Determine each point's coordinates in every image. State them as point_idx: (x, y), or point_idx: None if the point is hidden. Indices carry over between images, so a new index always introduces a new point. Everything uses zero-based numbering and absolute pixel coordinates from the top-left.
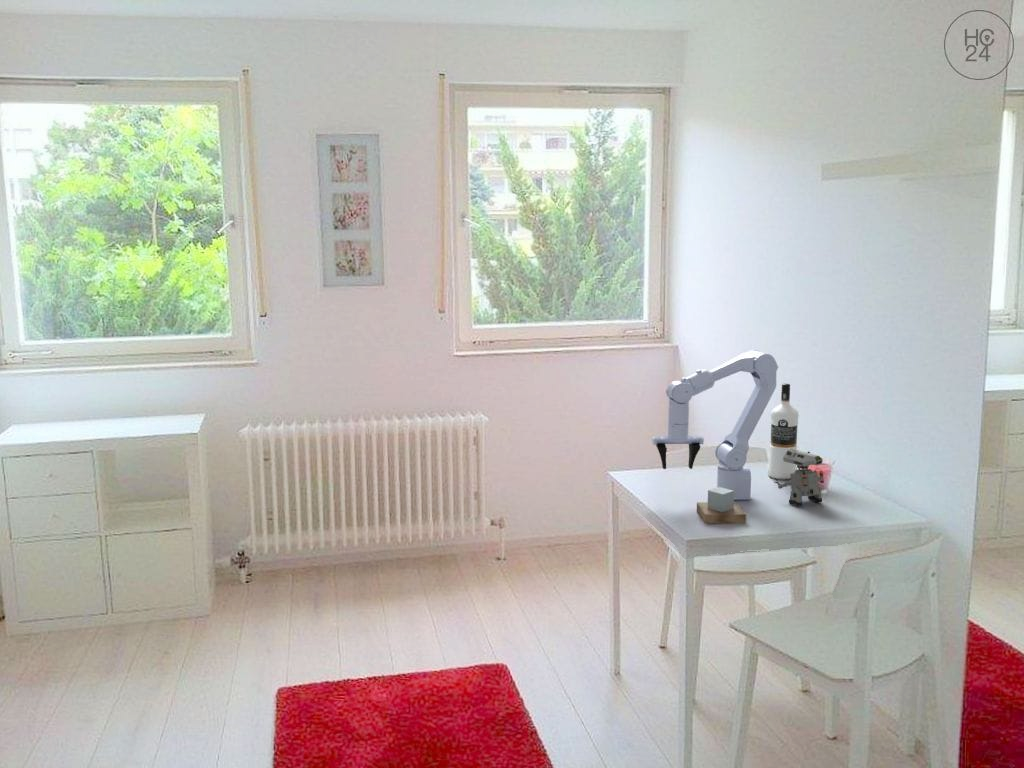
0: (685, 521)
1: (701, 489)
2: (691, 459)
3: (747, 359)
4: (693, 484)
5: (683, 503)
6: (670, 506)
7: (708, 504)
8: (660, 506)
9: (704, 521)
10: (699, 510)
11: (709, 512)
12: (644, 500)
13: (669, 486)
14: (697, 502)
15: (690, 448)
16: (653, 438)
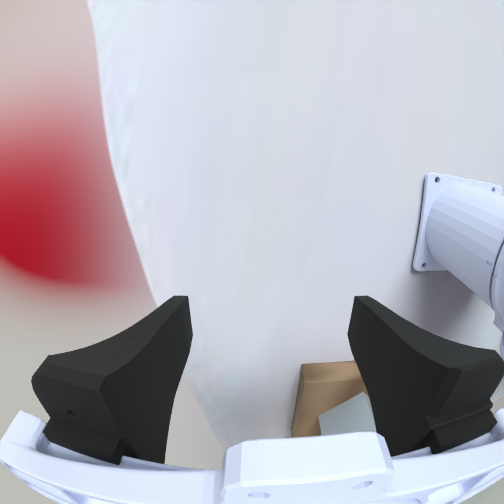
0: (248, 419)
1: (396, 119)
2: (367, 386)
3: None
4: (378, 48)
5: (280, 295)
6: (227, 323)
7: (321, 424)
8: (193, 321)
9: (292, 428)
10: (299, 400)
11: (309, 436)
12: (140, 254)
13: (270, 58)
14: (307, 383)
15: (402, 418)
16: (24, 481)
